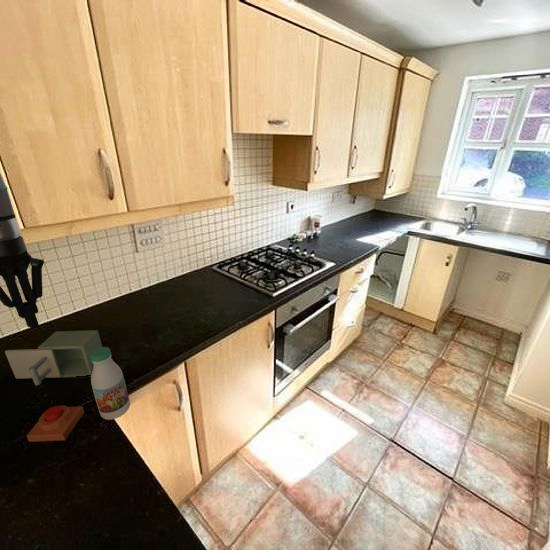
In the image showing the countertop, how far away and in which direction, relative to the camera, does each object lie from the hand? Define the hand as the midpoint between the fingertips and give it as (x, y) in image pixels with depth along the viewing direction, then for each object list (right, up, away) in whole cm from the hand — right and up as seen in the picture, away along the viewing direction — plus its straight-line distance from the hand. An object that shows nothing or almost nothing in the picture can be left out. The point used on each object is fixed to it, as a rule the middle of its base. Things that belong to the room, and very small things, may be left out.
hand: (33, 326), depth 78 cm
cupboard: (-4, -19, +25) cm, 31 cm away
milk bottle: (+17, -25, +8) cm, 32 cm away
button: (+5, -24, +1) cm, 24 cm away
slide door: (-13, -21, +16) cm, 30 cm away
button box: (+5, -27, +3) cm, 28 cm away
